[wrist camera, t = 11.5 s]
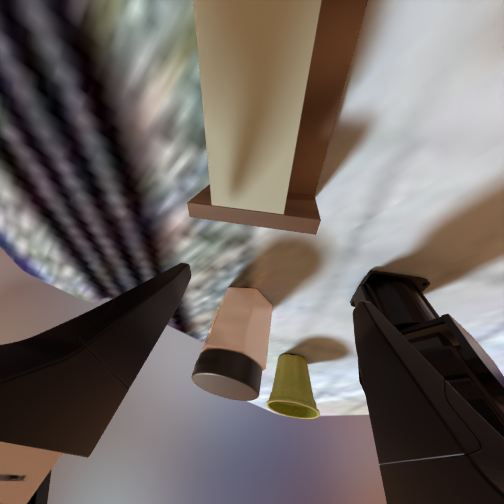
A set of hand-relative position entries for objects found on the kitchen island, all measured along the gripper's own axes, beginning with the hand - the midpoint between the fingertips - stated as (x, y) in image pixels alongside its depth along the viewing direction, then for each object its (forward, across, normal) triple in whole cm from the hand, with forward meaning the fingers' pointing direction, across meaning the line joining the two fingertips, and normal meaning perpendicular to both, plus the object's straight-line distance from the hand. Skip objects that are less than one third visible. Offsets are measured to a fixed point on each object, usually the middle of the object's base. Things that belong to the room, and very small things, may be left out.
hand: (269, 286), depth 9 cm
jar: (+12, +3, +18) cm, 22 cm away
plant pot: (+12, -9, +35) cm, 38 cm away
